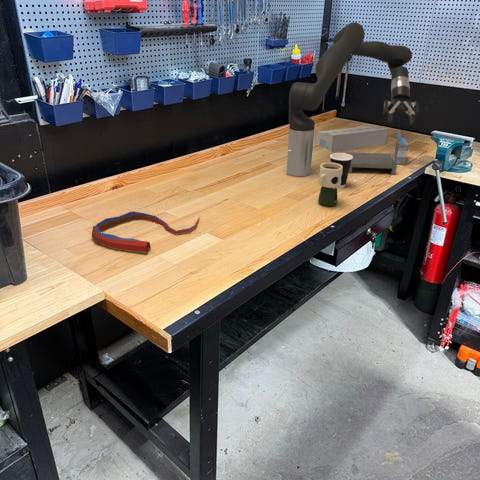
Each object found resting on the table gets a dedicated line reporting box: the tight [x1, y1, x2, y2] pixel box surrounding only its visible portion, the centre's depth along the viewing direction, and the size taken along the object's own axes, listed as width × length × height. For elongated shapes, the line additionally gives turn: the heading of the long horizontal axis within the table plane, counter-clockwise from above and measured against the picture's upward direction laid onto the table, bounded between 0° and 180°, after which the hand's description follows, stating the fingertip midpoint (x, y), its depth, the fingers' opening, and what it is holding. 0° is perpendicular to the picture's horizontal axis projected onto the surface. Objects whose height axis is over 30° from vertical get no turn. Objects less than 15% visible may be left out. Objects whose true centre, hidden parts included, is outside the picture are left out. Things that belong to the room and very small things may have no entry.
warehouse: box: [314, 125, 390, 152], centre depth 211 cm, size 30×14×8 cm, turn 114°
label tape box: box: [393, 130, 409, 166], centre depth 187 cm, size 9×4×12 cm, turn 168°
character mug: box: [317, 162, 343, 207], centre depth 147 cm, size 11×7×13 cm, turn 136°
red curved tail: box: [91, 210, 201, 254], centre depth 132 cm, size 31×22×5 cm
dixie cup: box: [329, 152, 353, 189], centre depth 162 cm, size 8×8×11 cm
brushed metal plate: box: [344, 151, 398, 176], centre depth 181 cm, size 18×14×4 cm
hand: (401, 123), depth 191 cm, fingers open, 8 cm apart
